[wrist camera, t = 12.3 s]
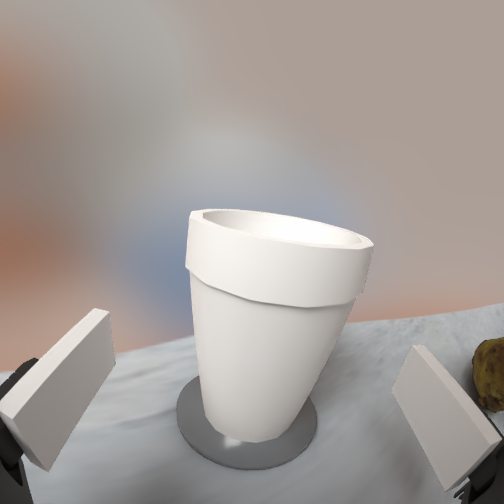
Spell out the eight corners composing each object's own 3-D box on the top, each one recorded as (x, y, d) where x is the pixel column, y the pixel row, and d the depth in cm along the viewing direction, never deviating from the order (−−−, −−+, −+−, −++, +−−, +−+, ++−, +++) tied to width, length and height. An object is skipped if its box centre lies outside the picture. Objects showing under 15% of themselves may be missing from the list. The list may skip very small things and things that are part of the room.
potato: (516, 389, 17) (545, 330, 15) (494, 448, 11) (546, 373, 9) (470, 363, 24) (495, 306, 22) (433, 409, 18) (473, 334, 16)
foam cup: (246, 357, 24) (269, 210, 21) (335, 407, 18) (391, 240, 15) (155, 398, 17) (153, 209, 14) (253, 486, 11) (316, 260, 8)
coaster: (318, 389, 21) (320, 382, 21) (305, 483, 12) (309, 478, 12) (207, 362, 23) (208, 355, 23) (151, 438, 14) (150, 431, 14)
